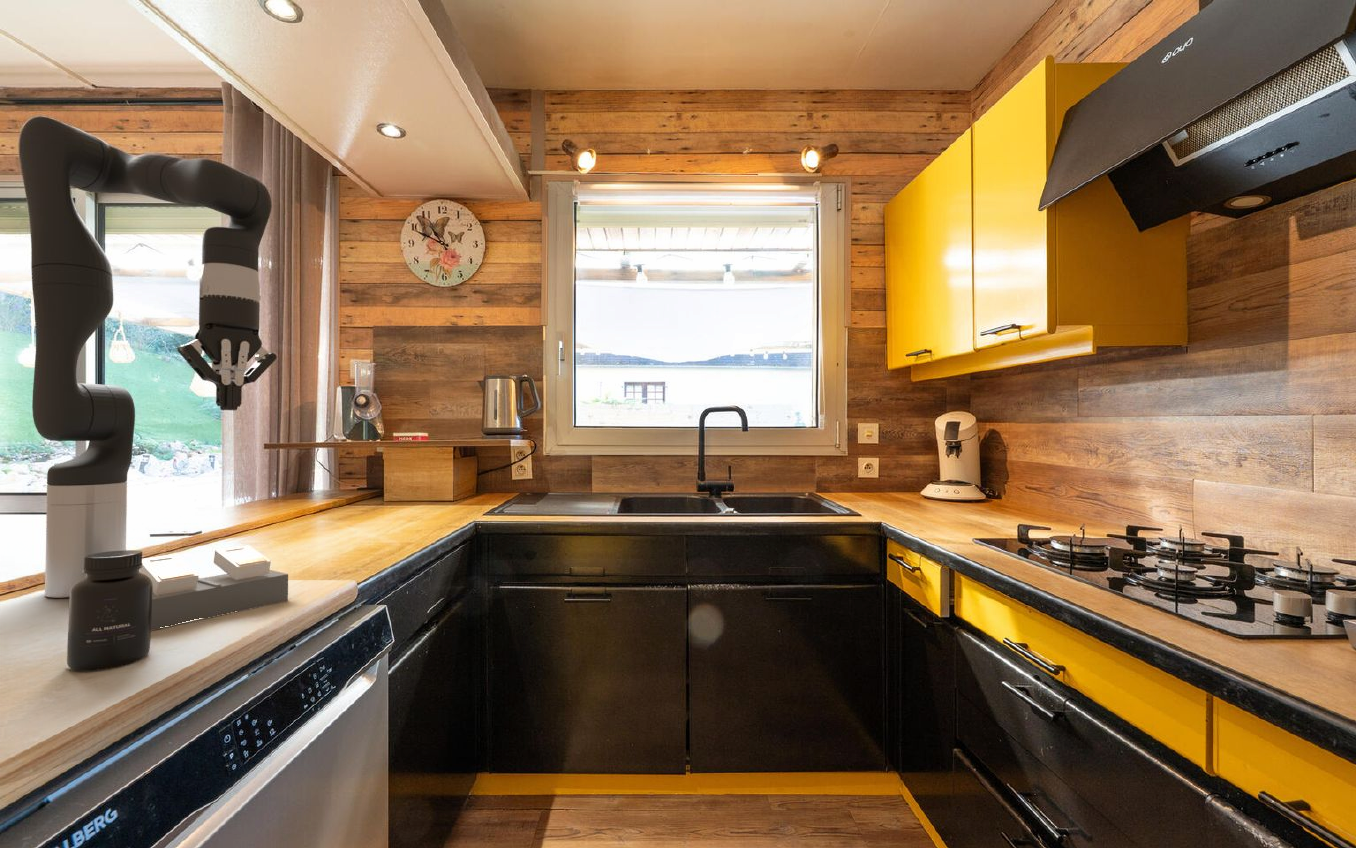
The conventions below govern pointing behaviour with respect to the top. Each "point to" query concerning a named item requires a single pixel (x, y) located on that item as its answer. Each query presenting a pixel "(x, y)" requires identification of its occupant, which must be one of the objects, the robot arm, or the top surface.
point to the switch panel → (218, 598)
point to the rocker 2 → (242, 562)
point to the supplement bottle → (110, 612)
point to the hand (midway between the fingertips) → (228, 410)
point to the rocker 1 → (169, 574)
